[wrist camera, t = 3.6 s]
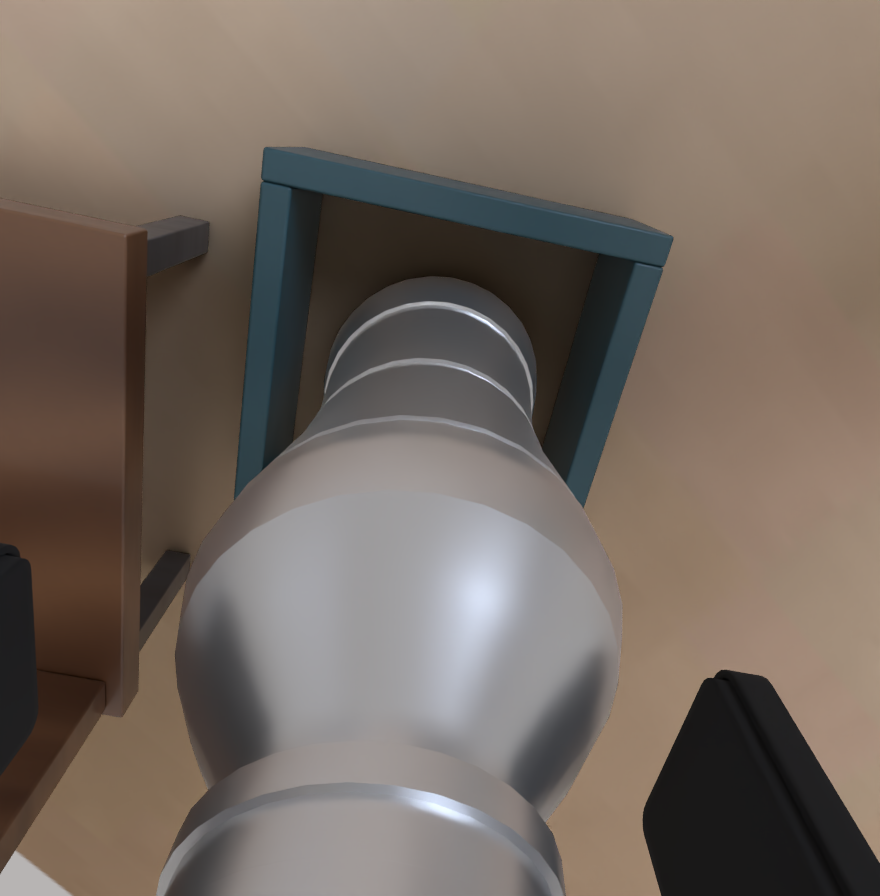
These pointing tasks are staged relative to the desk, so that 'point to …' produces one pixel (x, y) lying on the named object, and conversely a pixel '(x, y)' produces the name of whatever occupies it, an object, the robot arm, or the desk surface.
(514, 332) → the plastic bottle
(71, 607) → the chair
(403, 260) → the desk surface
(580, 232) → the rectangular frame
